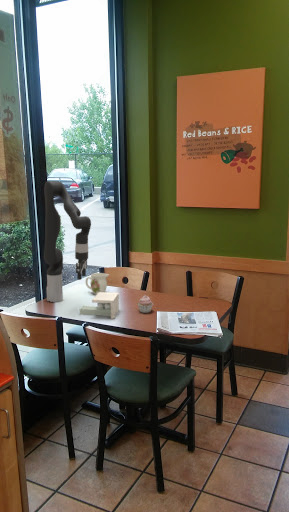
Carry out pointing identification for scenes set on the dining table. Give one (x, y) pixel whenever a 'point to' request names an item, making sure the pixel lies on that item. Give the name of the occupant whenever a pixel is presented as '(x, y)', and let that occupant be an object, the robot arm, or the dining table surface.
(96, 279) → the pitcher
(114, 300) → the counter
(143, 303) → the cupcake
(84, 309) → the caddy
